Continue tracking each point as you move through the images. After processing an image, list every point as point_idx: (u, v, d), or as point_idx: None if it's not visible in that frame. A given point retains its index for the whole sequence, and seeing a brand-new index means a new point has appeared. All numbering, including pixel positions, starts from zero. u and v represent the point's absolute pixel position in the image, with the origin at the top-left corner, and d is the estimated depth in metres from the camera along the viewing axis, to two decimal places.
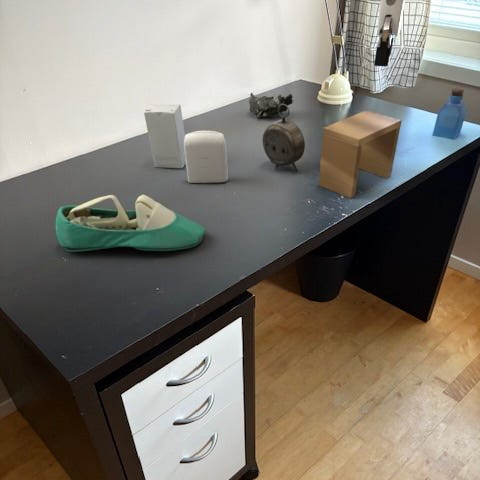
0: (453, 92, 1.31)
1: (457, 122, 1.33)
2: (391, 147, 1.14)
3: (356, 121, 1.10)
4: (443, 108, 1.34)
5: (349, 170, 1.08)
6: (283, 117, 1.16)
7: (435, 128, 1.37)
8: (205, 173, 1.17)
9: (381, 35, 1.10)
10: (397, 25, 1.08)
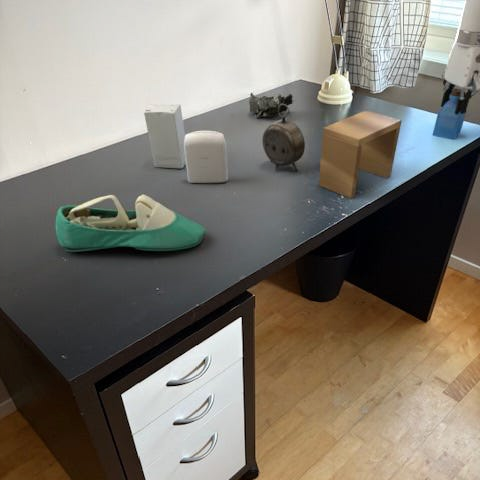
0: (453, 92, 1.31)
1: (457, 122, 1.33)
2: (391, 147, 1.14)
3: (356, 121, 1.10)
4: (443, 108, 1.34)
5: (349, 170, 1.08)
6: (283, 117, 1.16)
7: (435, 128, 1.37)
8: (205, 173, 1.17)
9: None
10: None
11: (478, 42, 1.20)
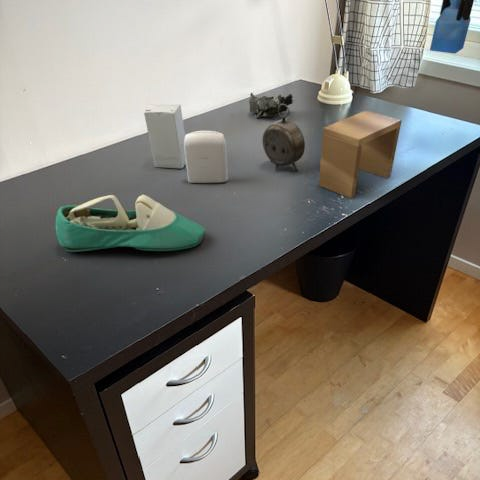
0: None
1: (459, 30, 1.11)
2: (391, 147, 1.14)
3: (356, 121, 1.10)
4: (442, 14, 1.12)
5: (349, 170, 1.08)
6: (283, 117, 1.16)
7: (433, 41, 1.16)
8: (205, 173, 1.17)
9: None
10: None
11: None
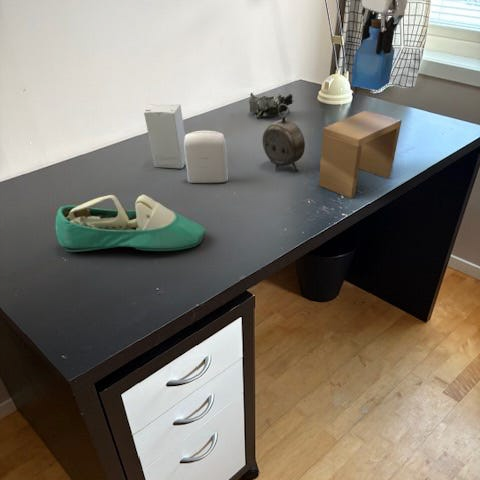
0: (373, 23, 0.96)
1: (380, 65, 0.98)
2: (391, 147, 1.14)
3: (356, 121, 1.10)
4: (361, 46, 0.98)
5: (349, 170, 1.08)
6: (283, 117, 1.16)
7: (353, 75, 1.02)
8: (205, 173, 1.17)
9: (386, 17, 0.92)
10: None
11: None
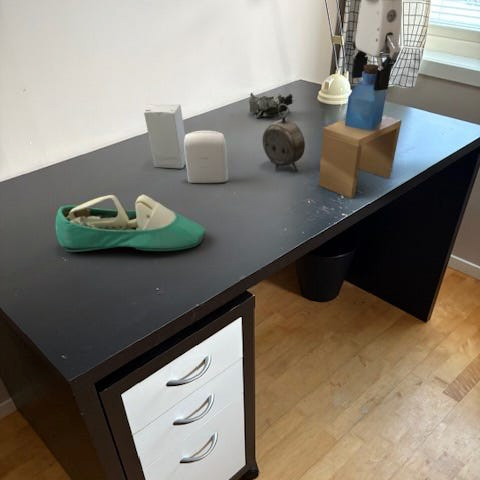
0: (365, 69, 1.01)
1: (372, 108, 1.03)
2: (391, 147, 1.14)
3: None
4: (354, 90, 1.03)
5: (349, 170, 1.08)
6: (283, 117, 1.16)
7: (347, 116, 1.07)
8: (205, 173, 1.17)
9: (381, 56, 0.95)
10: (397, 43, 0.95)
11: None
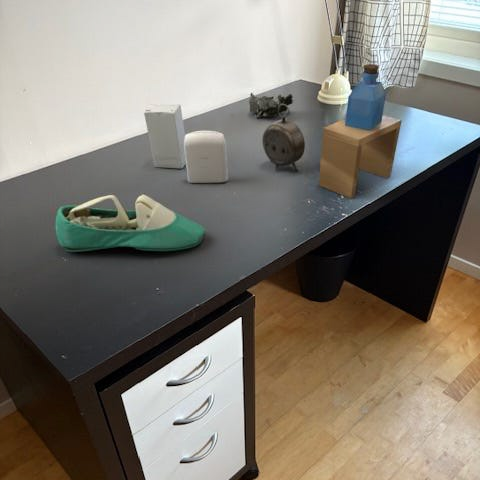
0: (365, 69, 1.01)
1: (372, 108, 1.03)
2: (391, 147, 1.14)
3: None
4: (354, 90, 1.03)
5: (349, 170, 1.08)
6: (283, 117, 1.16)
7: (347, 116, 1.07)
8: (205, 173, 1.17)
9: None
10: None
11: None
